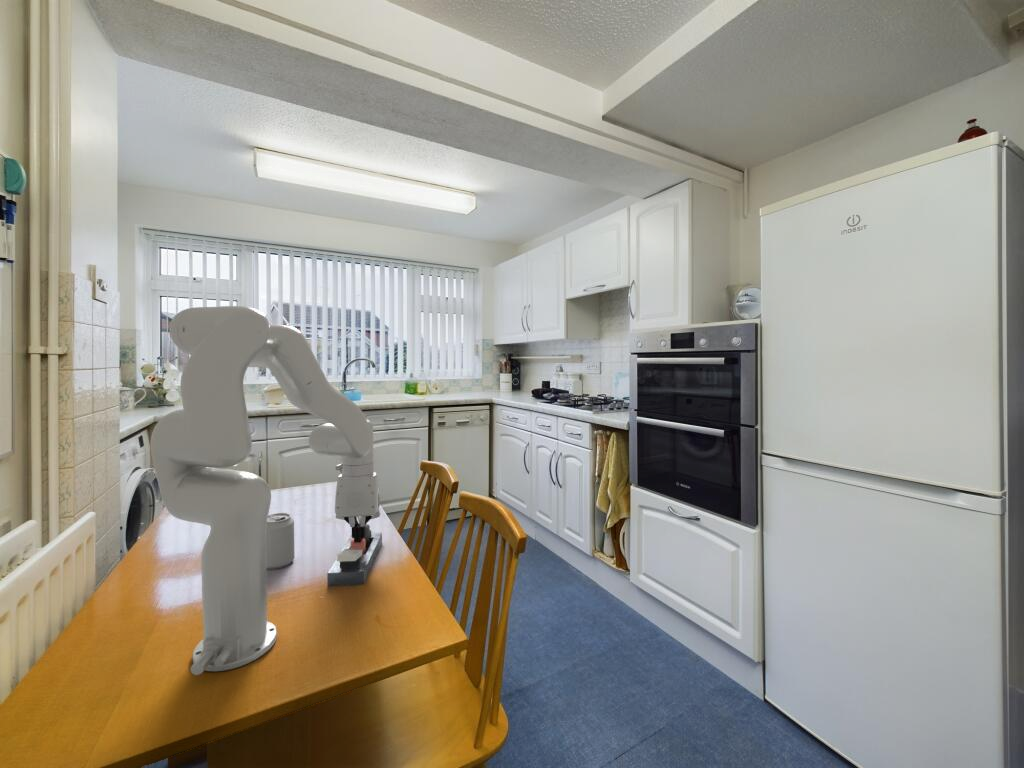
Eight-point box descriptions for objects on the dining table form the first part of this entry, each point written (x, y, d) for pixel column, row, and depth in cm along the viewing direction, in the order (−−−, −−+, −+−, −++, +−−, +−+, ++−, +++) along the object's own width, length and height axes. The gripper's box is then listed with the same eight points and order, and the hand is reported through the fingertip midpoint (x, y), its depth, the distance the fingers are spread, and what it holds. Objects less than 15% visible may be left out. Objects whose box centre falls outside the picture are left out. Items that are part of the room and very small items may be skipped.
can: (280, 572, 104) (279, 523, 103) (253, 568, 105) (252, 520, 104) (301, 558, 111) (300, 512, 110) (275, 555, 113) (274, 509, 112)
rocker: (355, 560, 99) (355, 553, 99) (336, 561, 98) (337, 554, 99) (362, 555, 106) (362, 548, 106) (345, 555, 105) (345, 548, 105)
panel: (364, 584, 99) (363, 567, 99) (327, 585, 98) (327, 568, 98) (382, 543, 121) (382, 529, 120) (352, 544, 120) (352, 530, 120)
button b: (368, 546, 113) (368, 529, 113) (353, 546, 113) (353, 529, 112) (371, 540, 117) (370, 523, 116) (357, 540, 116) (357, 524, 116)
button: (363, 561, 108) (363, 543, 108) (348, 561, 108) (348, 544, 108) (366, 554, 112) (366, 537, 112) (352, 555, 111) (352, 538, 111)
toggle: (368, 530, 117) (359, 506, 117) (360, 533, 117) (351, 509, 117) (370, 527, 120) (361, 503, 119) (362, 530, 119) (353, 506, 119)
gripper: (321, 473, 104) (323, 548, 105) (385, 472, 106) (386, 545, 107) (331, 465, 111) (332, 535, 113) (390, 464, 113) (391, 533, 114)
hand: (358, 540), depth 110 cm, fingers closed
